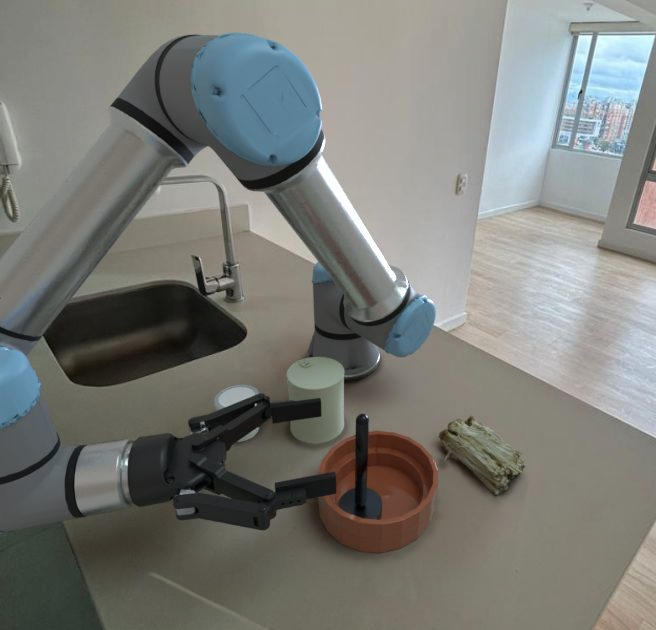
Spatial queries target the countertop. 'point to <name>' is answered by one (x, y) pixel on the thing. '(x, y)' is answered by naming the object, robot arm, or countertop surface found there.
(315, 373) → the can
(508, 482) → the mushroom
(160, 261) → the countertop surface
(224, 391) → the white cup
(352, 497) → the peg stand
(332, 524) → the bowl
